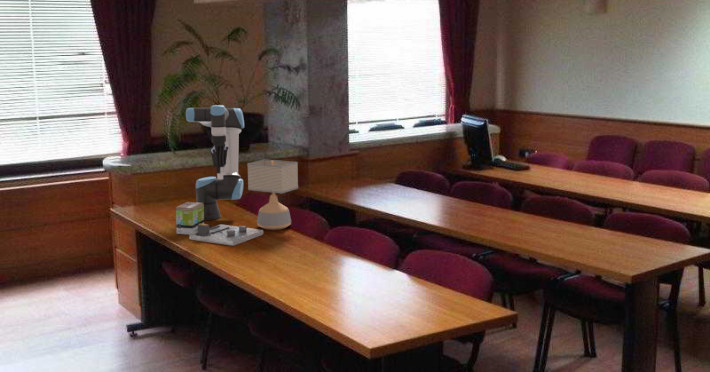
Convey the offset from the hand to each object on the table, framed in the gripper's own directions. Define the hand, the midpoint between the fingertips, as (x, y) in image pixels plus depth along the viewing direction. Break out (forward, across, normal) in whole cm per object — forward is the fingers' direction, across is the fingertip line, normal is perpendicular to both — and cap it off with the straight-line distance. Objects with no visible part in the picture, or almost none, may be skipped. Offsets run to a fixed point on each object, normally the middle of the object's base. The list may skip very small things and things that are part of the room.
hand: (220, 179), depth 420 cm
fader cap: (+26, +18, +2) cm, 31 cm away
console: (+28, +9, +10) cm, 31 cm away
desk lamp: (+29, -20, +20) cm, 40 cm away
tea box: (+29, +8, -15) cm, 33 cm away
